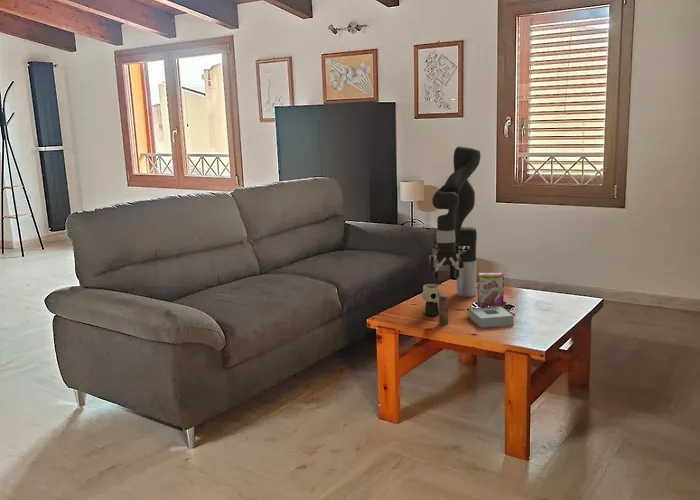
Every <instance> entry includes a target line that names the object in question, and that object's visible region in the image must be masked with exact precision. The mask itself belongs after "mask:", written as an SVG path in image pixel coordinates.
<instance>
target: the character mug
mask: <svg viewBox="0 0 700 500" xmlns="http://www.w3.org/2000/svg"><path fill="white" fill-rule="evenodd" d="M422 288H423V289H422V290H423V291H422V292H421V298H422V300H423V301H425V305H424V314H426V315H427V316H437V315H439V296H440V295H441V294H442V290H441V287H440V285H439V284H434V283H429V284H428V283H427V284H424V285H423V286H422Z"/></svg>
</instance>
